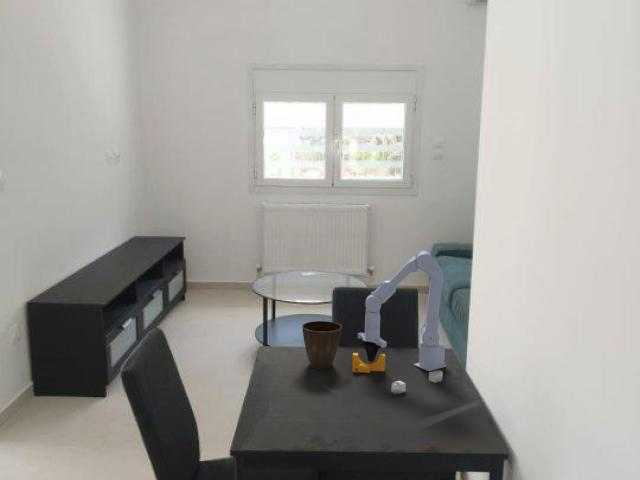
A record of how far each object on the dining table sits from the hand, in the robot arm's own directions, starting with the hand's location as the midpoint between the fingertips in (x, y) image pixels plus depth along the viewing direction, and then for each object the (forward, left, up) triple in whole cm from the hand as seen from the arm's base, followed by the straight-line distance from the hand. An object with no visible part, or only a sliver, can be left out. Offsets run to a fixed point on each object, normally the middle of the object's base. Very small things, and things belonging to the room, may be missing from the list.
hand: (371, 360), depth 228 cm
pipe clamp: (+5, +4, -2) cm, 7 cm away
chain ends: (0, +25, -2) cm, 25 cm away
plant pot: (+17, -9, -2) cm, 19 cm away
